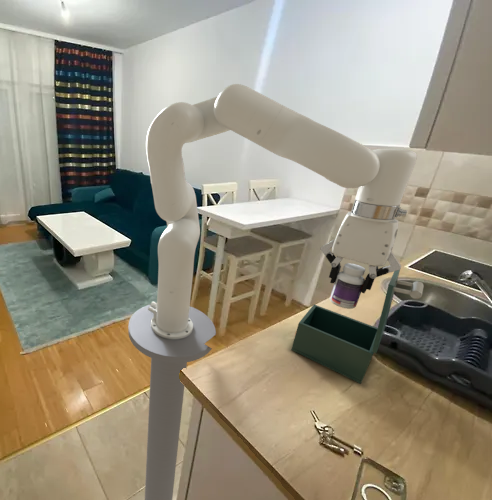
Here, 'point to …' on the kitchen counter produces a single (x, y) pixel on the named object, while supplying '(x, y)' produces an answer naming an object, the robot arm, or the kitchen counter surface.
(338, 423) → the kitchen counter surface
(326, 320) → the green open box
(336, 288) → the pill bottle
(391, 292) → the box lid
